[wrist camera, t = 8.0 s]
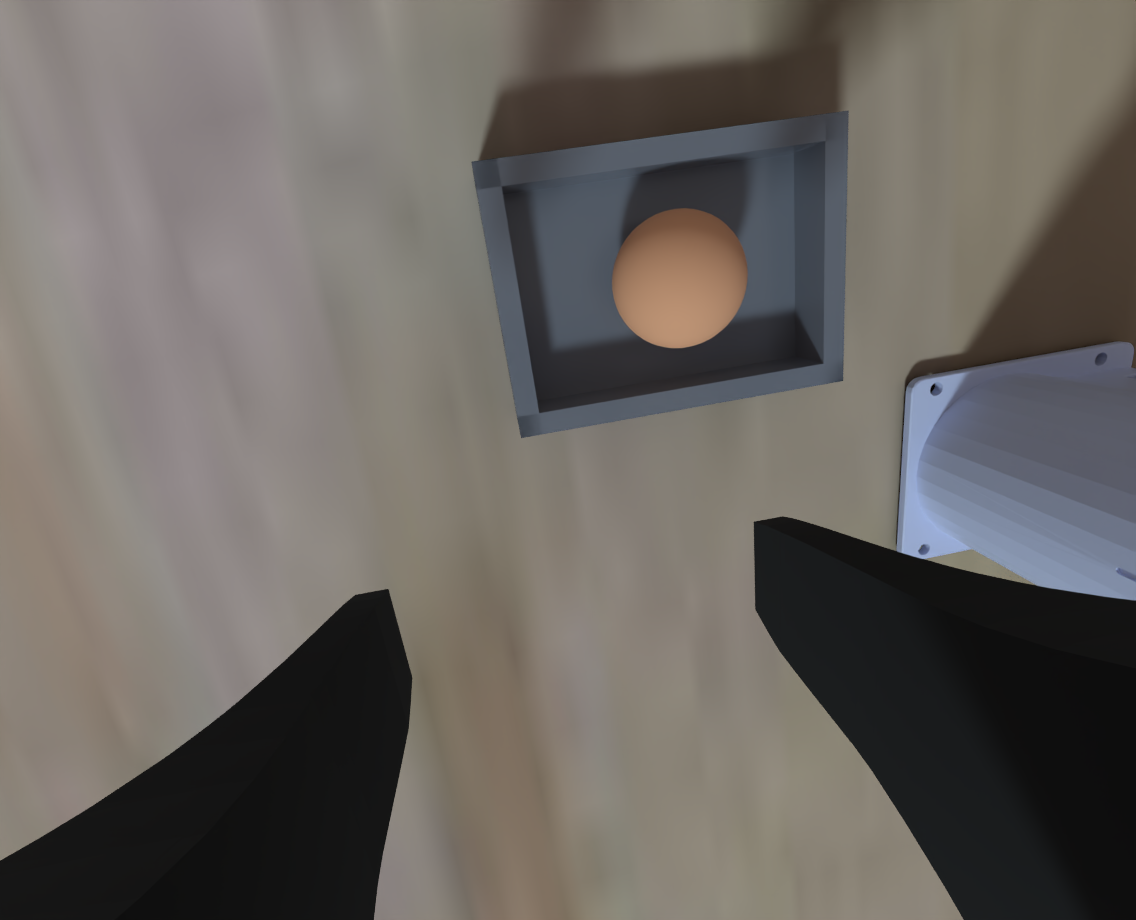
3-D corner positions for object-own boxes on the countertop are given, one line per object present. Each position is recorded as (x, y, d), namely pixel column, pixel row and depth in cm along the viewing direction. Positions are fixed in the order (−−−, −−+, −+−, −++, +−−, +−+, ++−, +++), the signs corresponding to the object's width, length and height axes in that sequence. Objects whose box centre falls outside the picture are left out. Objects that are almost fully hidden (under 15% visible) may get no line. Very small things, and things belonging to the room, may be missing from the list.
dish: (804, 130, 18) (848, 110, 16) (805, 369, 21) (843, 380, 19) (473, 176, 18) (471, 161, 15) (517, 419, 20) (521, 437, 18)
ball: (719, 332, 20) (773, 344, 16) (608, 349, 19) (636, 366, 15) (713, 208, 18) (771, 189, 14) (594, 224, 18) (620, 210, 14)
